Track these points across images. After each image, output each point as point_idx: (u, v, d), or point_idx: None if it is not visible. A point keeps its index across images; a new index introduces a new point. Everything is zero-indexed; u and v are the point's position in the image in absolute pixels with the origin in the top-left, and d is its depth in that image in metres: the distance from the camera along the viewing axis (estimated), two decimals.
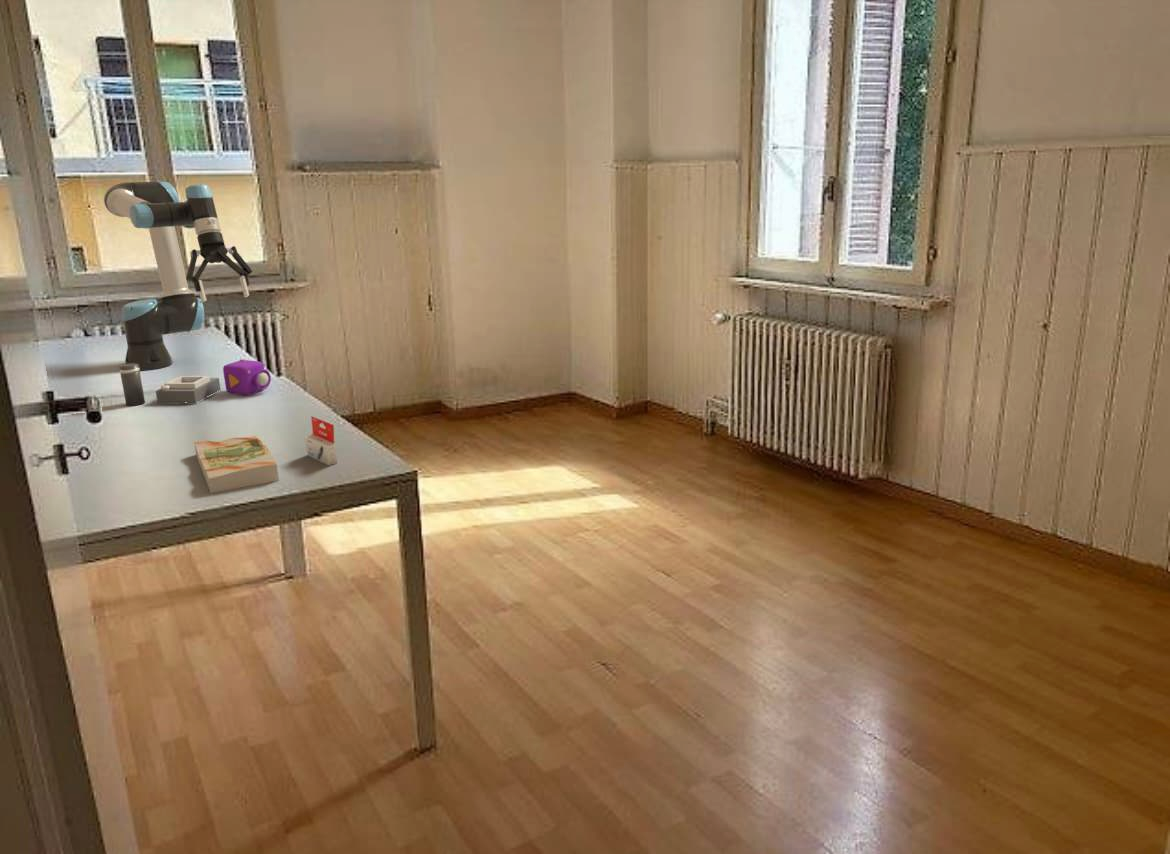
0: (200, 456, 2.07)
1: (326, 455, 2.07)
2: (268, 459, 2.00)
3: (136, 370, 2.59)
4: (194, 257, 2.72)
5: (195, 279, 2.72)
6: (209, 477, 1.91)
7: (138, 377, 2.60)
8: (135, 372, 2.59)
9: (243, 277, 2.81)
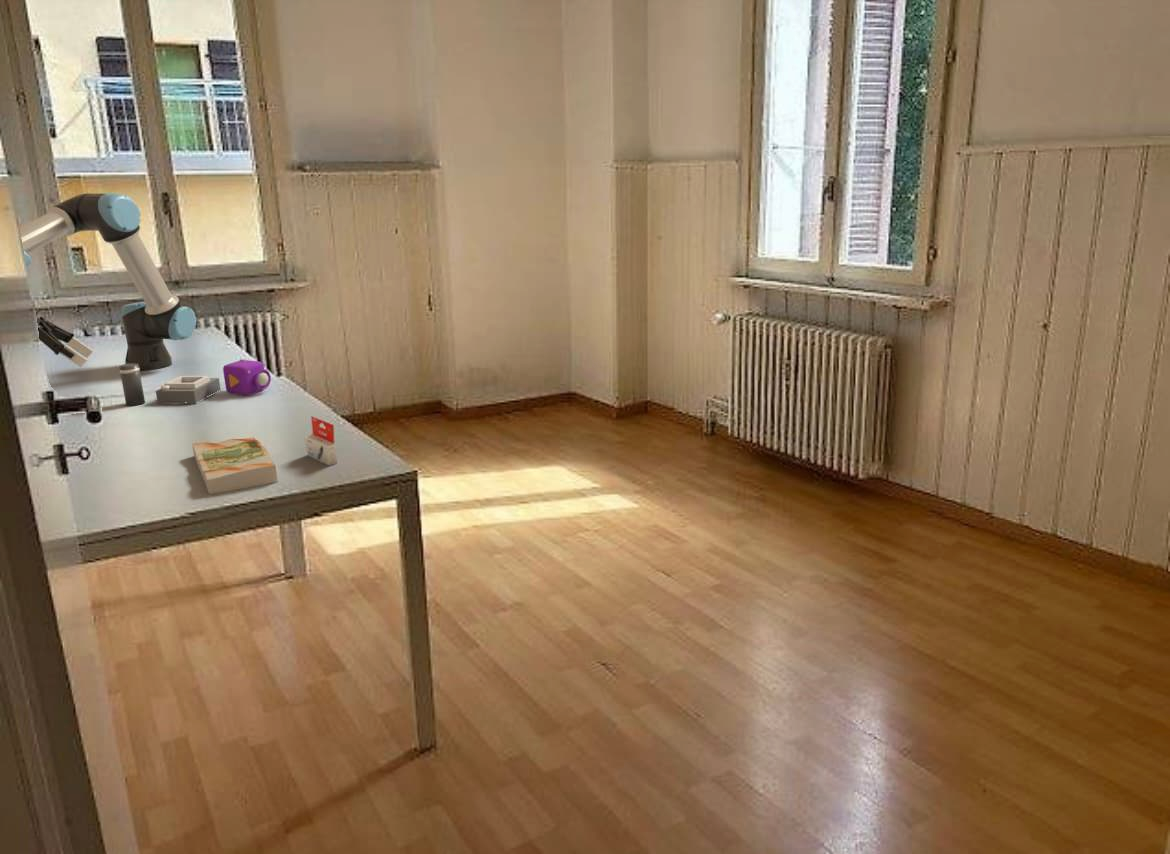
0: (198, 457, 2.06)
1: (326, 455, 2.07)
2: (266, 460, 1.99)
3: (136, 370, 2.59)
4: None
5: None
6: (207, 478, 1.90)
7: (138, 377, 2.60)
8: (135, 372, 2.59)
9: None
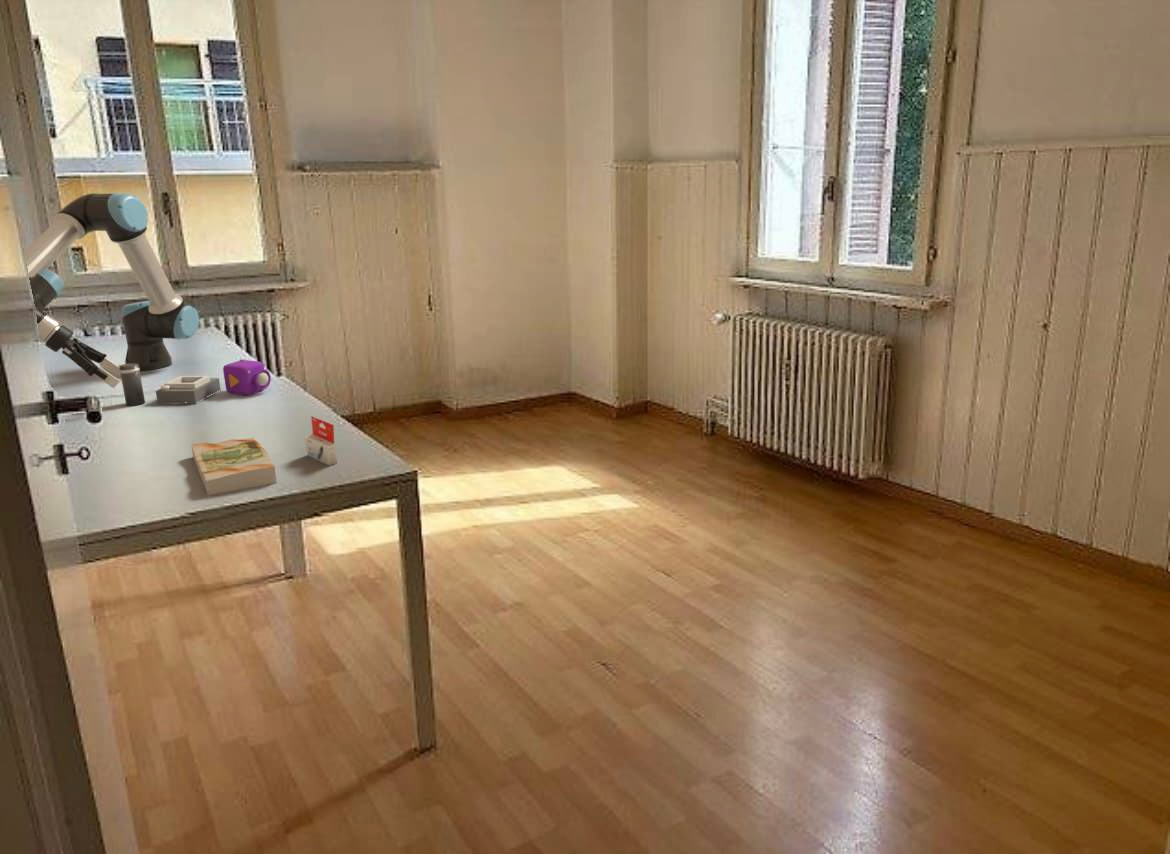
0: (197, 458, 2.05)
1: (326, 455, 2.07)
2: (266, 461, 1.98)
3: (136, 370, 2.59)
4: None
5: None
6: (206, 479, 1.89)
7: (138, 377, 2.60)
8: (135, 372, 2.59)
9: None
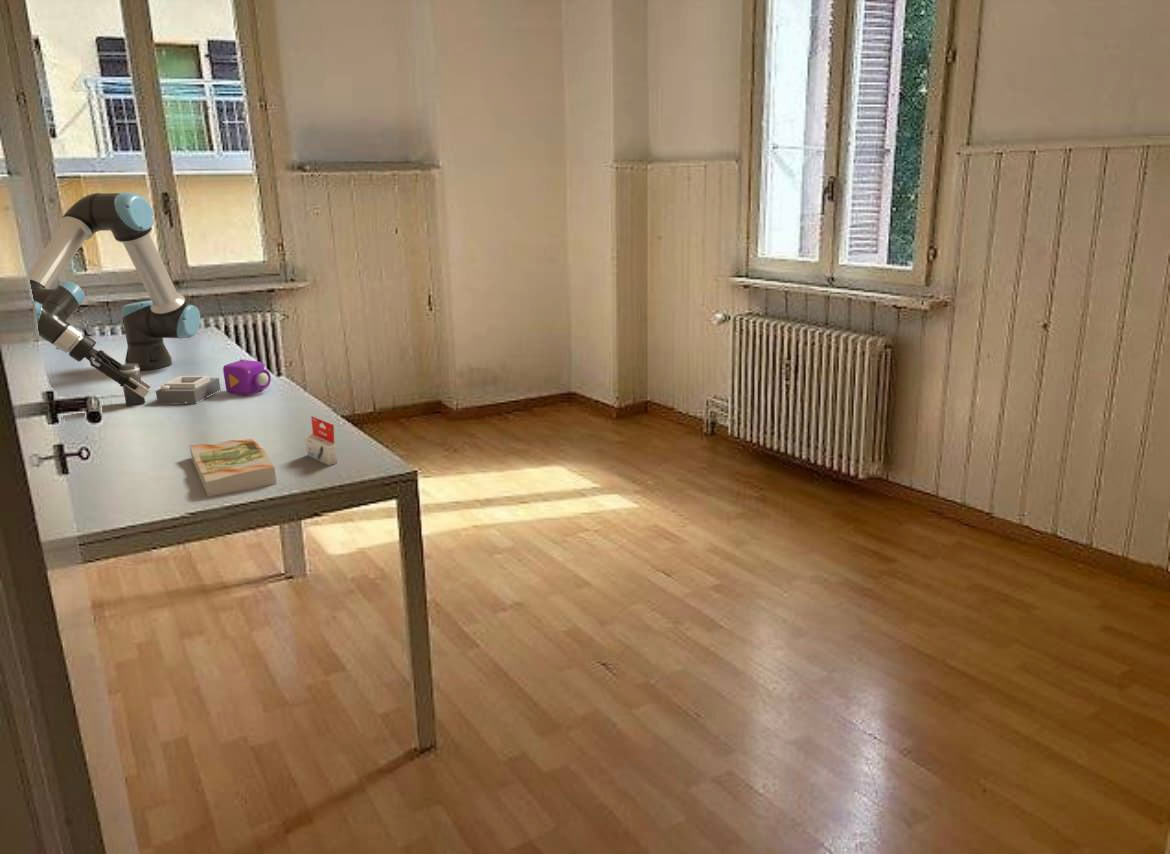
0: (196, 459, 2.05)
1: (326, 455, 2.07)
2: (265, 462, 1.98)
3: (136, 370, 2.59)
4: None
5: None
6: (206, 480, 1.89)
7: (138, 377, 2.60)
8: (135, 372, 2.59)
9: None
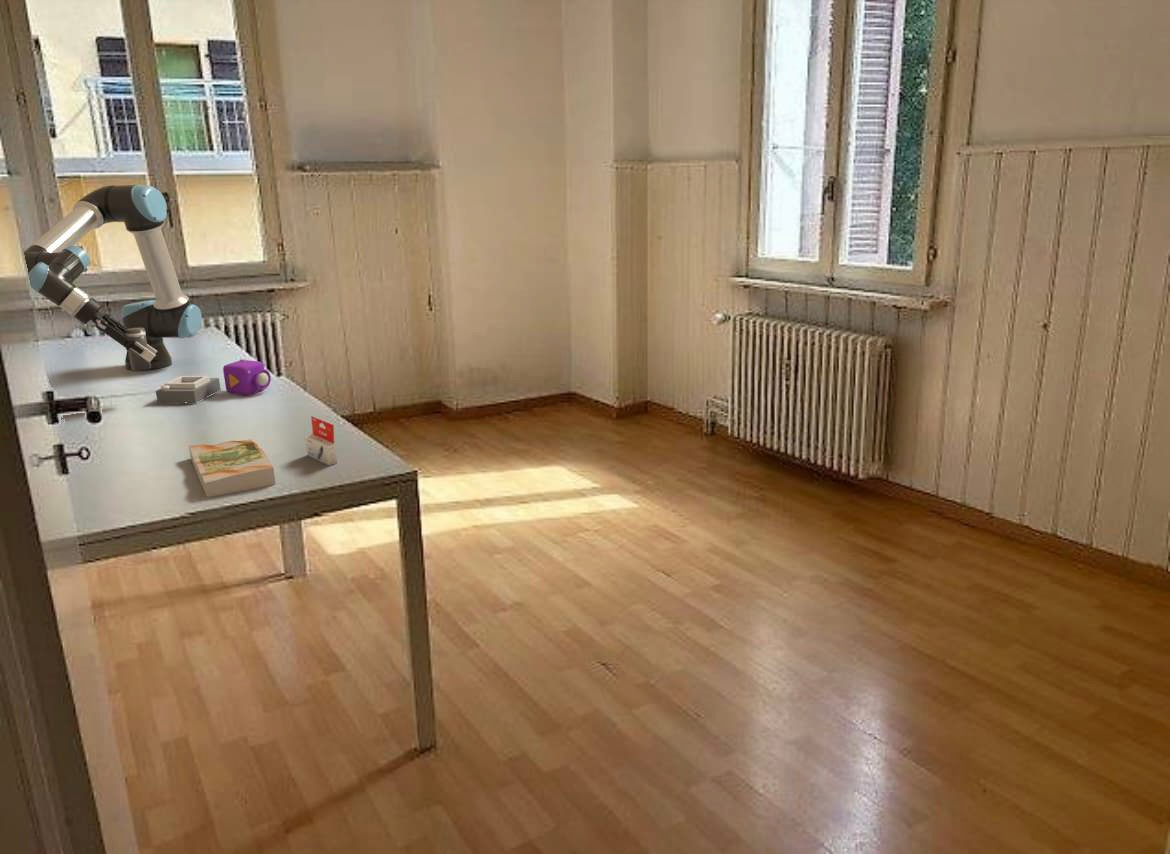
0: (195, 460, 2.04)
1: (326, 455, 2.06)
2: (264, 463, 1.98)
3: (141, 334, 2.57)
4: None
5: None
6: (205, 481, 1.88)
7: (144, 342, 2.58)
8: (141, 336, 2.57)
9: None
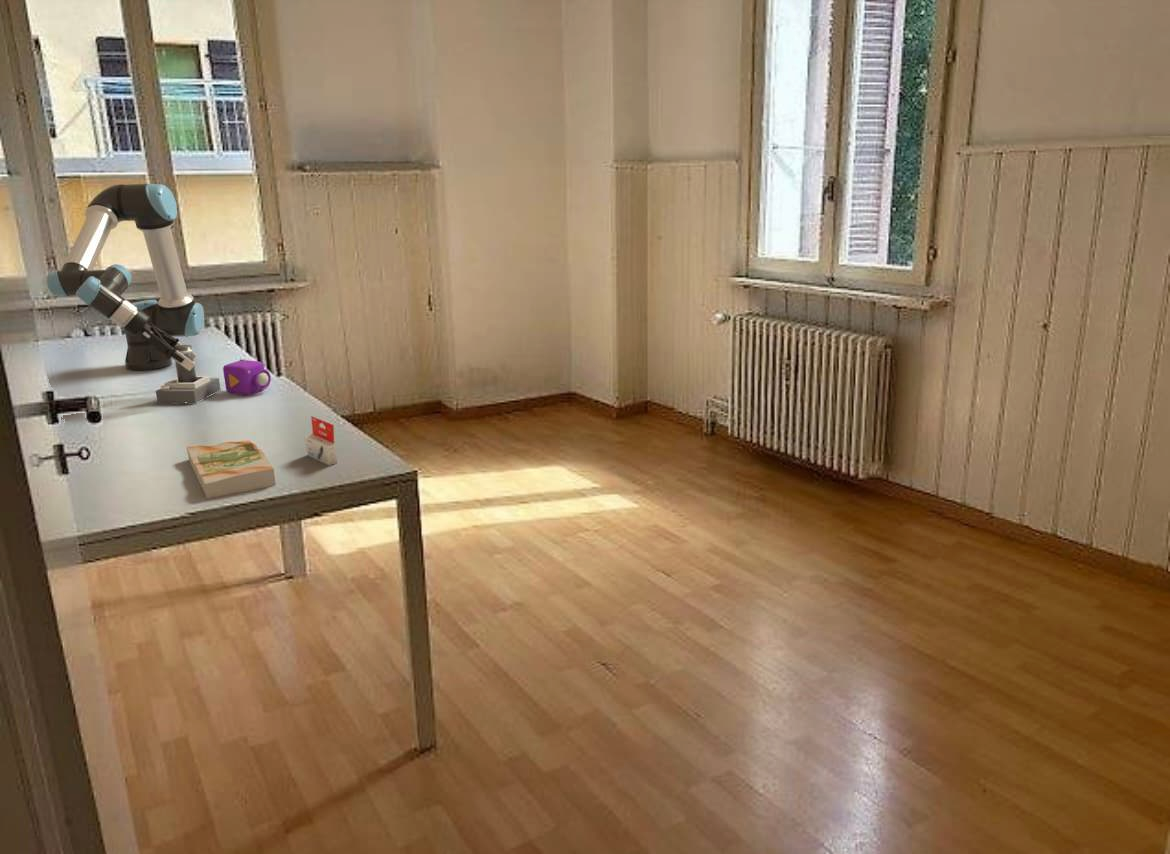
0: (194, 461, 2.03)
1: (326, 455, 2.06)
2: (264, 464, 1.97)
3: (189, 351, 2.65)
4: None
5: None
6: (205, 482, 1.87)
7: (191, 358, 2.66)
8: (188, 353, 2.64)
9: None
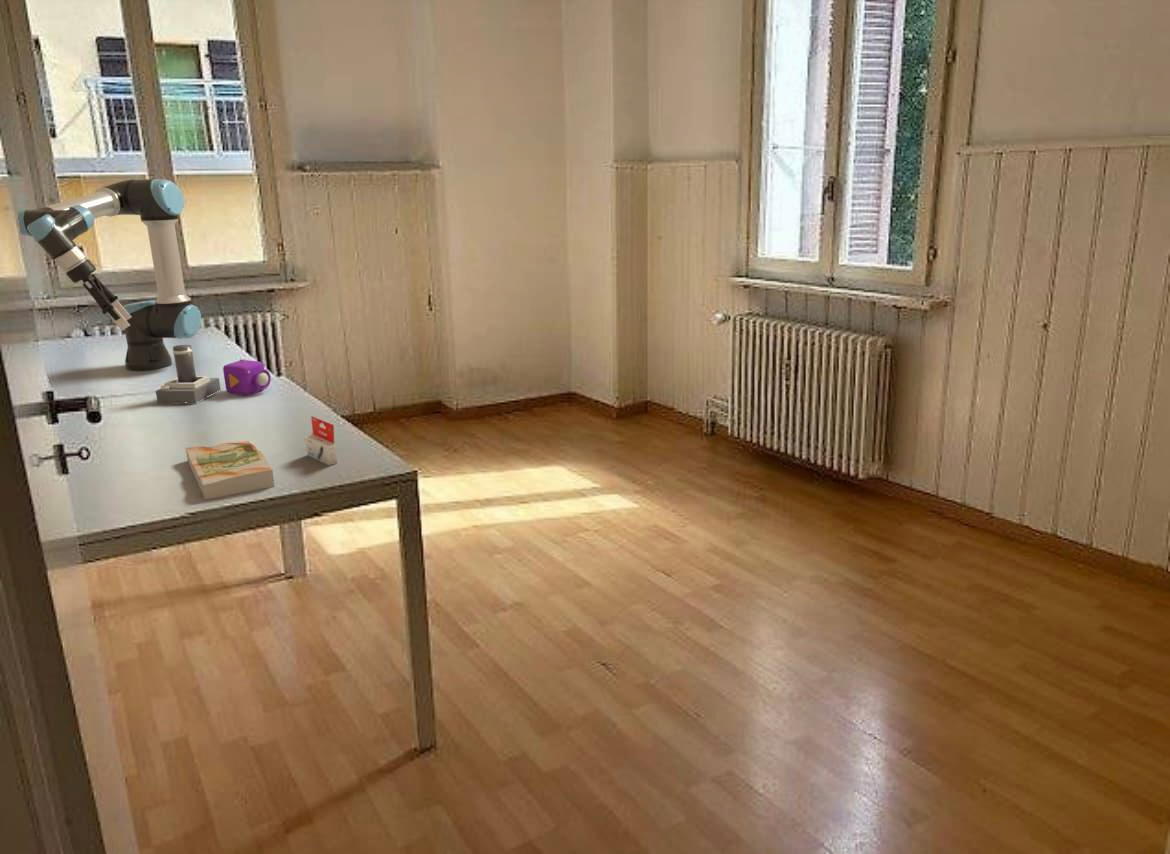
0: (193, 462, 2.03)
1: (326, 455, 2.07)
2: (263, 465, 1.96)
3: (189, 351, 2.65)
4: None
5: None
6: (203, 484, 1.87)
7: (191, 358, 2.66)
8: (188, 353, 2.65)
9: None
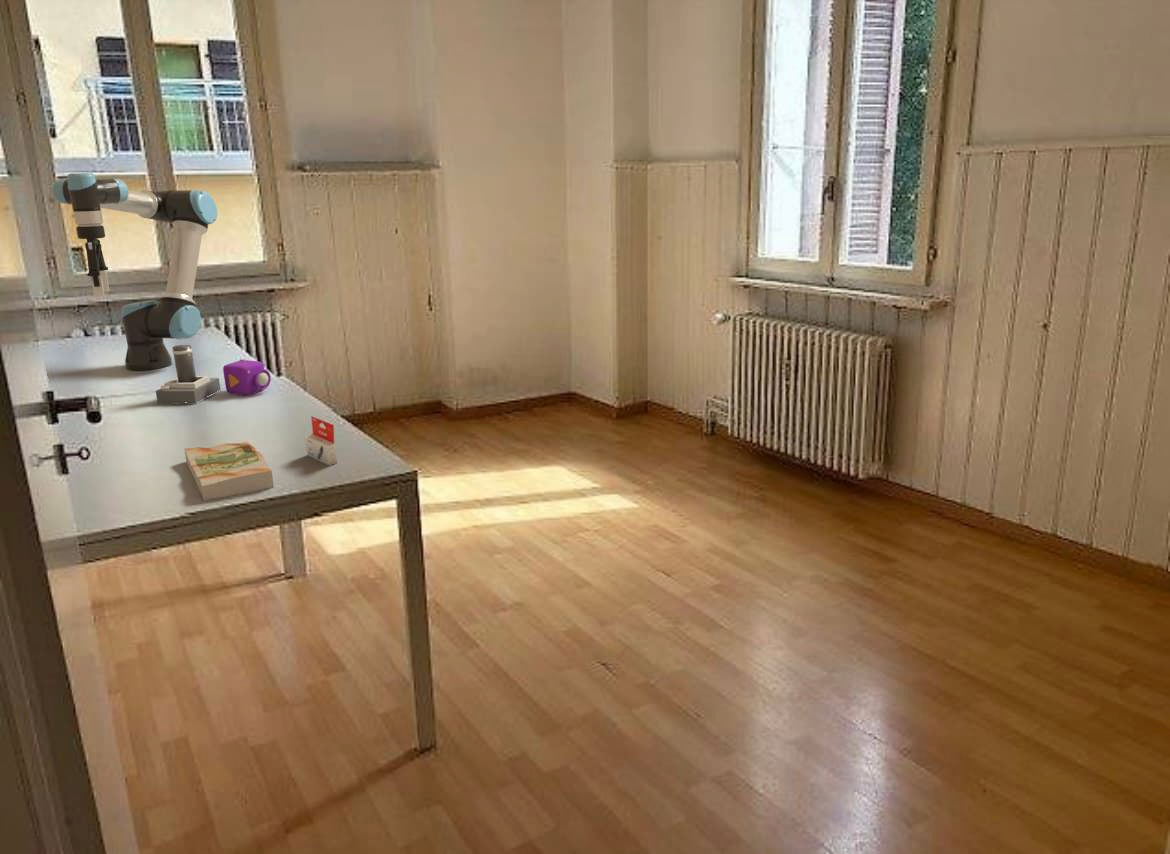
0: (191, 463, 2.02)
1: (326, 455, 2.07)
2: (262, 466, 1.96)
3: (188, 351, 2.65)
4: None
5: None
6: (203, 484, 1.86)
7: (191, 358, 2.66)
8: (188, 353, 2.64)
9: None
